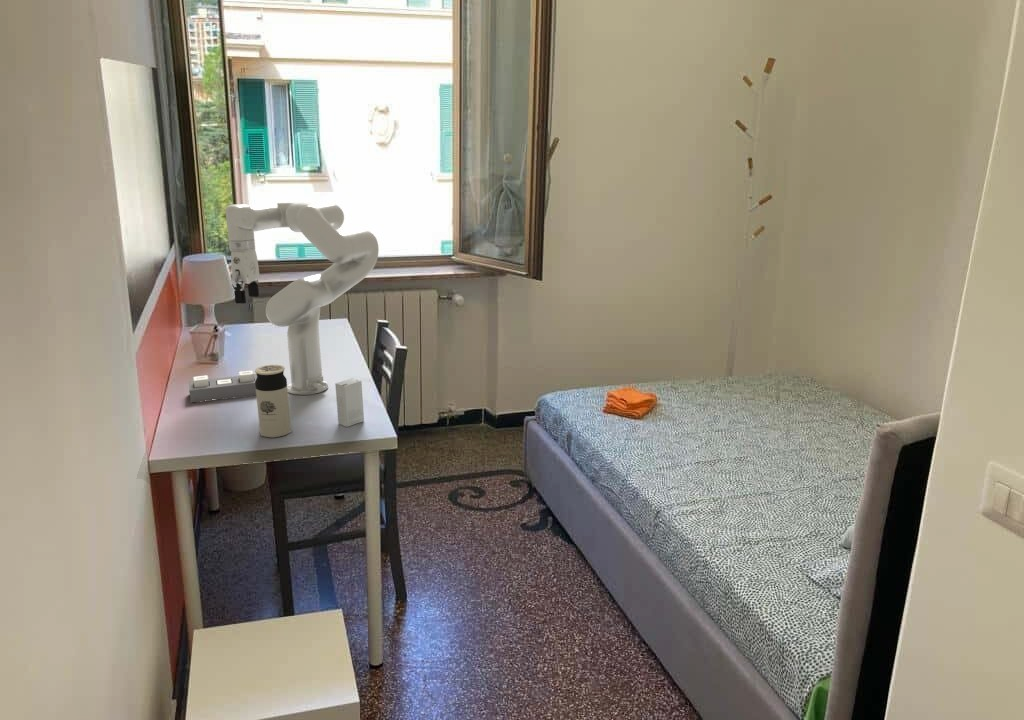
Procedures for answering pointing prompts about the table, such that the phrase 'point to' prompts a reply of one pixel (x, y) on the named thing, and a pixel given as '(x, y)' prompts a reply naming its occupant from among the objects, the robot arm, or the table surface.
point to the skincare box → (349, 402)
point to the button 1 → (201, 381)
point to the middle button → (224, 381)
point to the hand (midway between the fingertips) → (247, 299)
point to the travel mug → (272, 401)
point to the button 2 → (246, 376)
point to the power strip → (222, 389)
